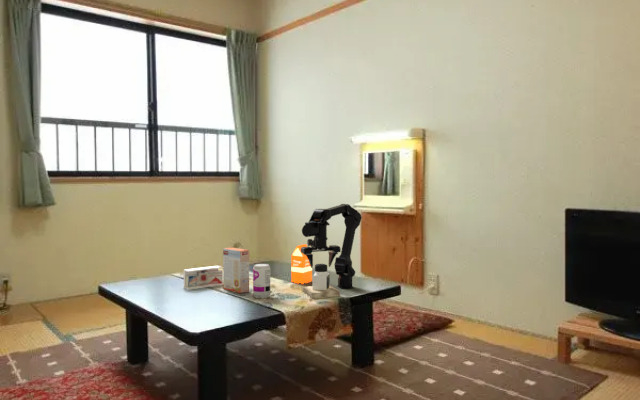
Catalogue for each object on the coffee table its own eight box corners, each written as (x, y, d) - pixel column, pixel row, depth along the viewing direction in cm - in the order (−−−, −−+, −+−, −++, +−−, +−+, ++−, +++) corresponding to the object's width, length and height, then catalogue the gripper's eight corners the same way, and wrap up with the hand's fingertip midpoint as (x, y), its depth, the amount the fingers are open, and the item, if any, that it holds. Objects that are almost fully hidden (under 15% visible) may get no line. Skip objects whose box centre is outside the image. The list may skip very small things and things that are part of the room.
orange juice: (312, 281, 268) (312, 244, 267) (303, 284, 260) (303, 246, 259) (300, 279, 272) (300, 243, 271) (291, 282, 265) (291, 245, 264)
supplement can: (256, 299, 228) (256, 267, 228) (250, 295, 236) (250, 264, 235) (273, 297, 232) (272, 265, 231) (266, 293, 239) (266, 262, 239)
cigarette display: (187, 289, 248) (187, 271, 247) (183, 287, 252) (183, 269, 252) (224, 284, 260) (224, 266, 259) (219, 282, 264) (219, 265, 264)
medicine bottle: (326, 290, 235) (326, 265, 234) (312, 290, 236) (312, 265, 236) (329, 287, 242) (329, 263, 241) (315, 286, 243) (315, 262, 243)
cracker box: (250, 291, 243) (249, 249, 242) (240, 293, 239) (239, 250, 238) (232, 287, 253) (232, 246, 252) (222, 289, 248) (222, 247, 247)
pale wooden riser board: (328, 289, 248) (328, 284, 248) (339, 296, 235) (339, 290, 235) (302, 291, 243) (302, 286, 243) (312, 298, 230) (312, 293, 230)
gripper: (332, 232, 249) (332, 263, 249) (297, 234, 242) (297, 265, 243) (341, 235, 238) (340, 267, 239) (304, 236, 232) (304, 269, 232)
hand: (320, 267), depth 239 cm, fingers open, 9 cm apart
